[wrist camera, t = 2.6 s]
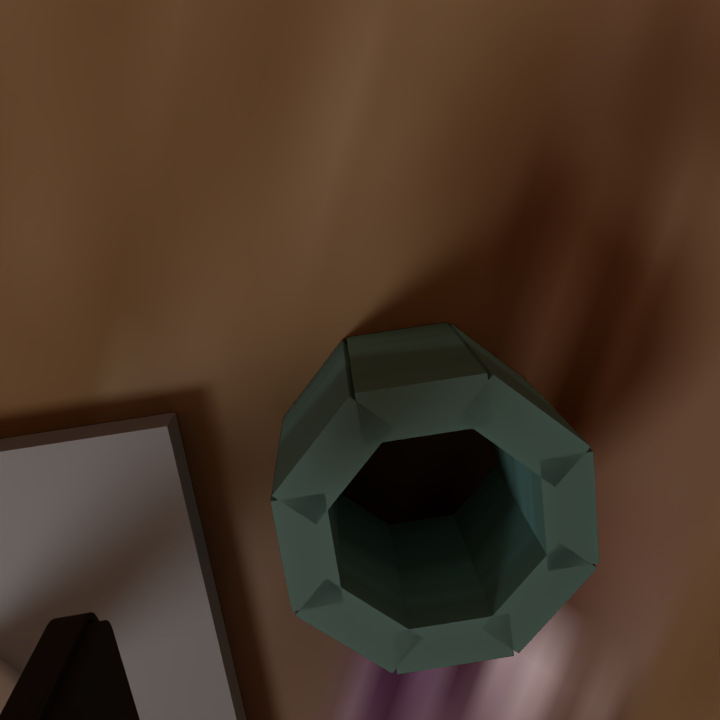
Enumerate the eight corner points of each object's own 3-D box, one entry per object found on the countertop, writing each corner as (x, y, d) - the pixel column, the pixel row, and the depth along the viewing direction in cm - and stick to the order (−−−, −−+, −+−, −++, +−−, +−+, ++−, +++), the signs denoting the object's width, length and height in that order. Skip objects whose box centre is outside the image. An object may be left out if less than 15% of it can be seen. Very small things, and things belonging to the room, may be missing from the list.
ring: (523, 310, 18) (588, 357, 13) (540, 536, 19) (602, 641, 15) (269, 349, 18) (252, 409, 13) (310, 572, 19) (307, 688, 15)
